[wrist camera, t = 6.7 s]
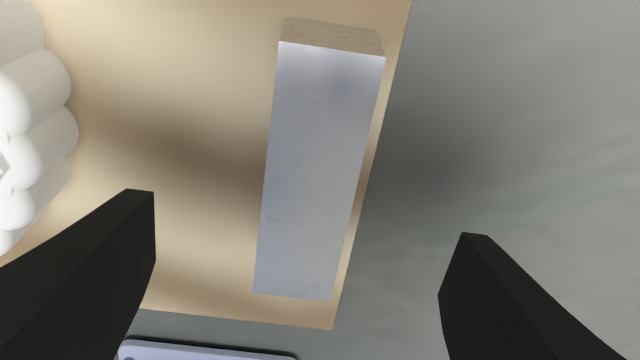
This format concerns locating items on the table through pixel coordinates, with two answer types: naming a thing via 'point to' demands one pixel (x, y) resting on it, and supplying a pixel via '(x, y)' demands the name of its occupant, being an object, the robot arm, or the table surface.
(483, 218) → the table surface
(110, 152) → the wooden cutting board
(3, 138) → the mooncake
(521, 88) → the table surface
